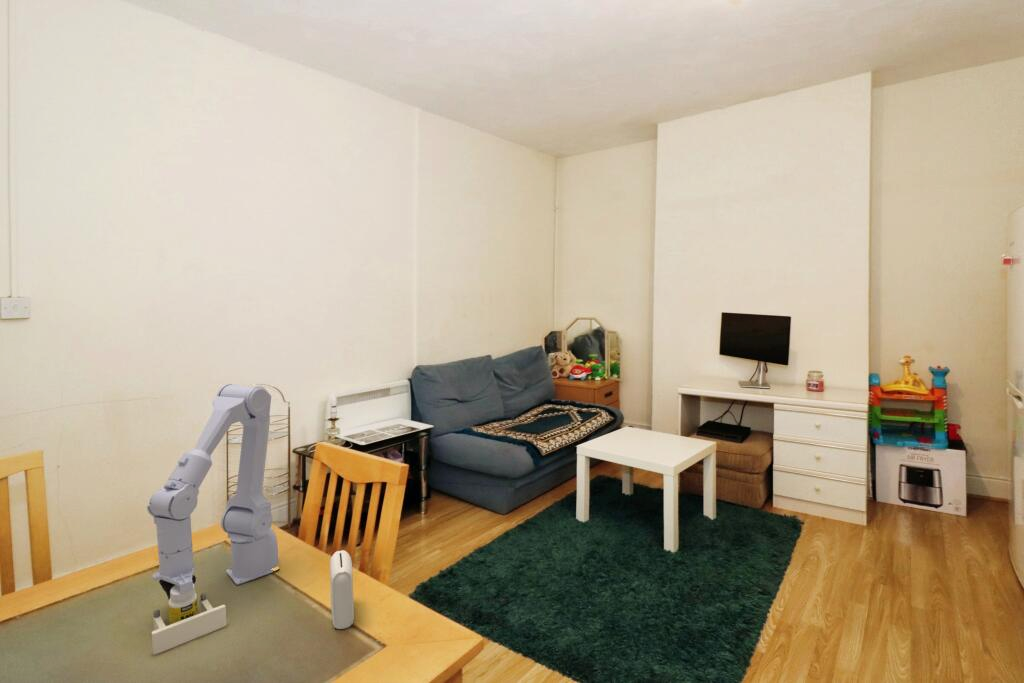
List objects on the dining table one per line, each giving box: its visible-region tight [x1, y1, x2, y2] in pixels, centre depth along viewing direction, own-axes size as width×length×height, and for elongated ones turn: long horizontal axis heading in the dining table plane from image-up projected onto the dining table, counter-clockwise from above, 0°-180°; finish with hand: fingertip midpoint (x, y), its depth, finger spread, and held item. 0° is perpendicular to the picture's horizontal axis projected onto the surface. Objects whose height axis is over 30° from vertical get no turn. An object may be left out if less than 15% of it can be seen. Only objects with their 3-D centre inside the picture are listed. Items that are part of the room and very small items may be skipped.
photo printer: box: [329, 549, 355, 630], centre depth 107 cm, size 10×4×12 cm, turn 20°
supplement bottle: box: [167, 584, 199, 625], centre depth 102 cm, size 5×5×8 cm
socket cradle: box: [151, 593, 227, 656], centre depth 102 cm, size 12×8×4 cm, turn 134°
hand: (179, 612), depth 106 cm, fingers closed
